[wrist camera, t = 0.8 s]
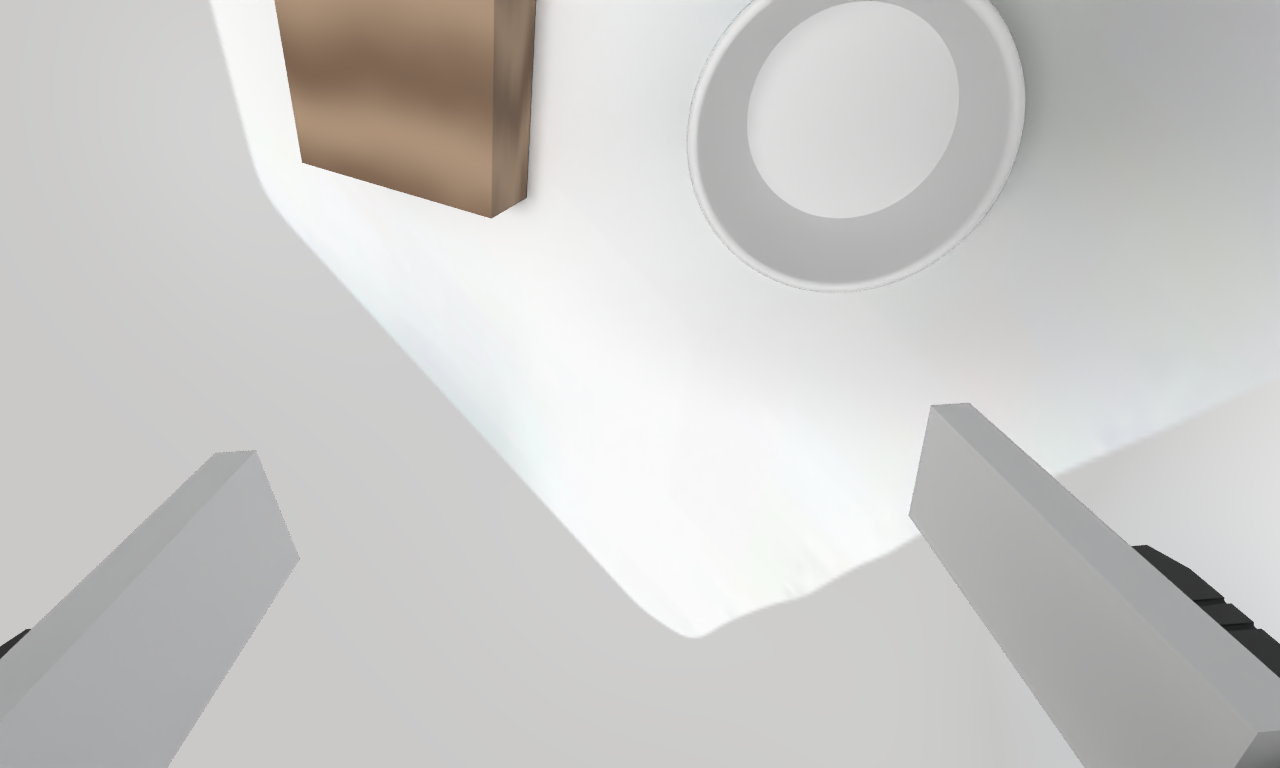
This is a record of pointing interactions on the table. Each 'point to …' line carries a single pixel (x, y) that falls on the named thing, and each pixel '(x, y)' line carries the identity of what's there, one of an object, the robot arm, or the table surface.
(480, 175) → the walnut block
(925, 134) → the food container
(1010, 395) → the table surface
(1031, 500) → the robot arm
